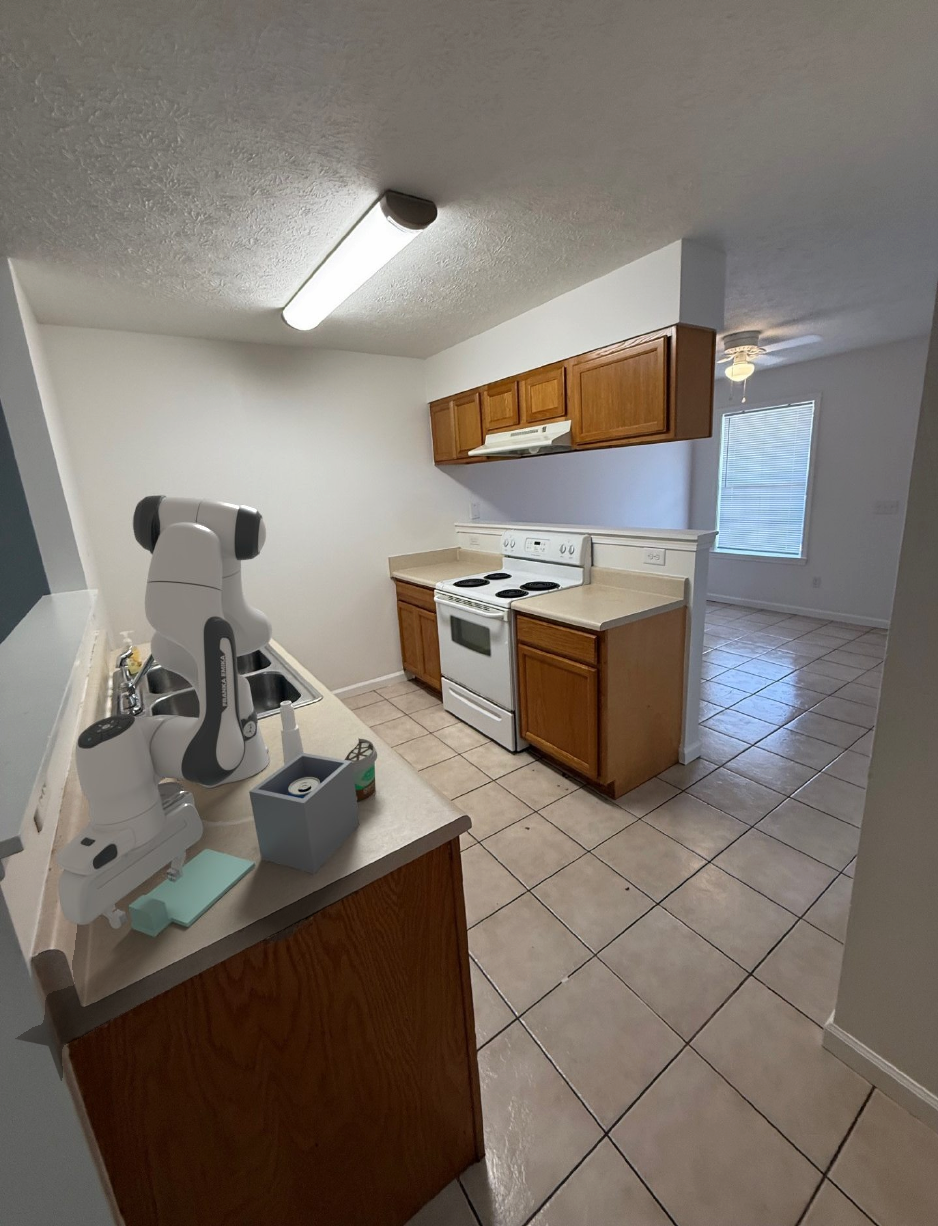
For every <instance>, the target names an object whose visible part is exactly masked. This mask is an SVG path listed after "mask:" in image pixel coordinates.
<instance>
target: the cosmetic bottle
mask: <svg viewBox="0 0 938 1226" xmlns="http://www.w3.org/2000/svg"><path fill="white" fill-rule="evenodd" d="M292 704H293V703H292V701H291V700H284V701H282V702H280V703H279V705H280V707H279V713H280V714H279V715H280V719H281V725H282V726H281V729H280V733H281V745H282V746H281V747H282V754H283V763H284V765H286V764H287V763H288V762H290V761H291V760H292V759H294V758H295V757H297V756H298V755H299V754H301V753H305V751H304V747H303V741H302V735H301V732H300V727H299V725H298V724H297V722H296V716H295V708H294V705H292ZM284 765H283V766H284Z"/></svg>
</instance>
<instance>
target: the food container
mask: <svg viewBox="0 0 938 1226" xmlns="http://www.w3.org/2000/svg"><path fill="white" fill-rule="evenodd" d="M377 758H378V753H377V749H376V746H375V745H374V743H373V742H372V741H370V740H368V739H365V738H358V743H357V744H356V745H355V746H354V748H352V749H351V750H350V751H349V752H348V753H347V755H346V756H345V758H344V760H348V761H352V767H353V775H354V783H355V791H356V799H357V804H358V803H361V802H364V801H366V800H367V799H369V798H371V797H372V796H373V795H374V794H375V792H376V767H375V763H376V761H377Z"/></svg>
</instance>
